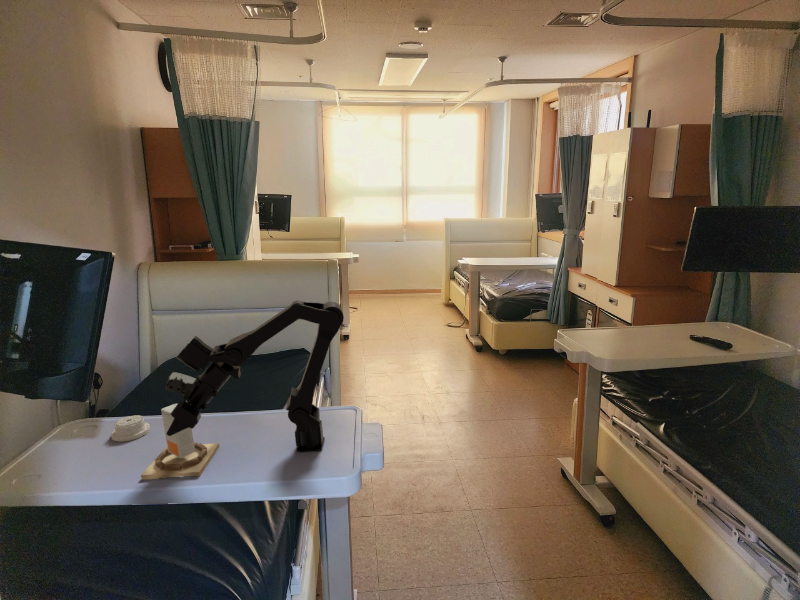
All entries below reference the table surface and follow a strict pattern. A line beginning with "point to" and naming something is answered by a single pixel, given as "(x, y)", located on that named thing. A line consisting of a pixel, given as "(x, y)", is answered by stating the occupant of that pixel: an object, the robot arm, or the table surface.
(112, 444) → the table surface
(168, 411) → the skincare box
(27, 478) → the table surface
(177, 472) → the board
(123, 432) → the mechanical component
